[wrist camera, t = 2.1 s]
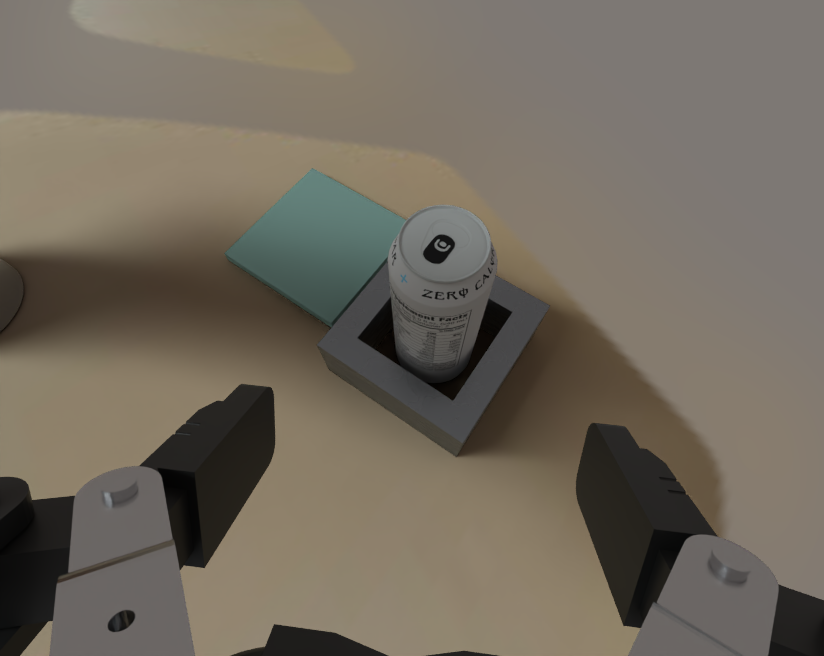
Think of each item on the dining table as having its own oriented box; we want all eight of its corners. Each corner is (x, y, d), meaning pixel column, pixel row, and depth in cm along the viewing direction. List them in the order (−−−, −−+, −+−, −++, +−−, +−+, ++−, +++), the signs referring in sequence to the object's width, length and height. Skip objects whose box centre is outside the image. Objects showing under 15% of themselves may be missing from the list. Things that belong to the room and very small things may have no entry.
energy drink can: (484, 342, 37) (524, 228, 24) (444, 401, 35) (463, 313, 22) (422, 306, 39) (428, 179, 25) (381, 360, 37) (362, 254, 23)
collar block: (328, 369, 36) (316, 344, 32) (414, 264, 41) (414, 229, 36) (456, 457, 34) (462, 443, 29) (533, 334, 38) (550, 305, 33)
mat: (228, 259, 41) (224, 253, 40) (314, 175, 45) (312, 168, 44) (332, 328, 38) (331, 323, 37) (414, 231, 42) (414, 224, 41)
